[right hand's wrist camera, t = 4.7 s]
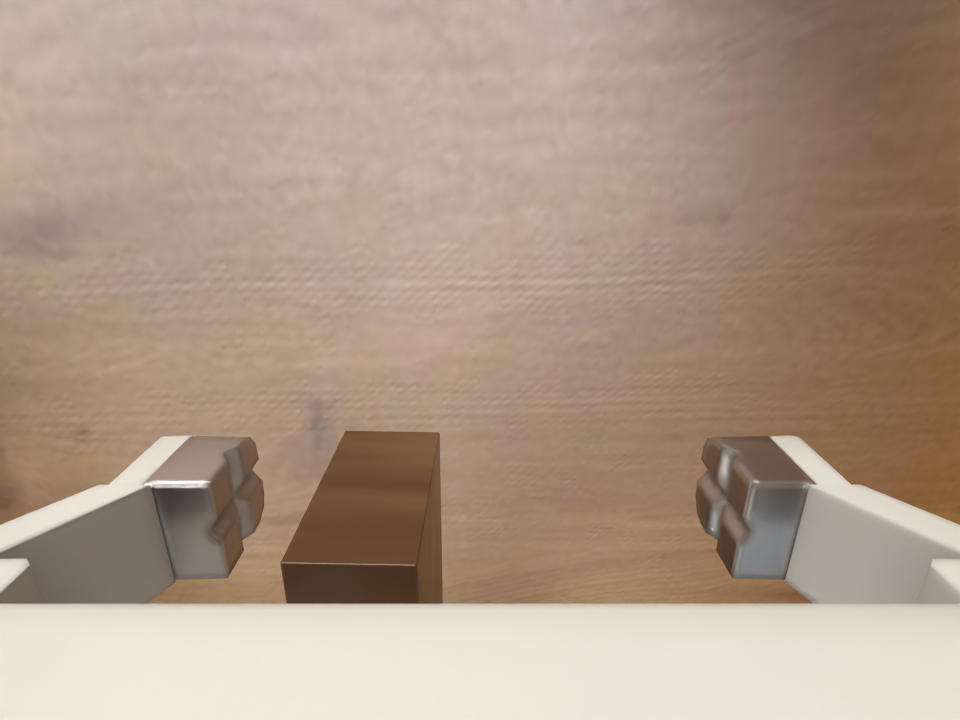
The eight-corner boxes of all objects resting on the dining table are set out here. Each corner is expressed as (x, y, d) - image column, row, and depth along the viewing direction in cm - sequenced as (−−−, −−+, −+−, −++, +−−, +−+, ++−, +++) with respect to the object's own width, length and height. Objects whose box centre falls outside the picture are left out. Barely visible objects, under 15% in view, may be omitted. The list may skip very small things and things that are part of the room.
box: (345, 430, 34) (279, 563, 24) (439, 431, 34) (417, 565, 24) (366, 663, 42) (323, 845, 31) (443, 665, 42) (428, 848, 31)
